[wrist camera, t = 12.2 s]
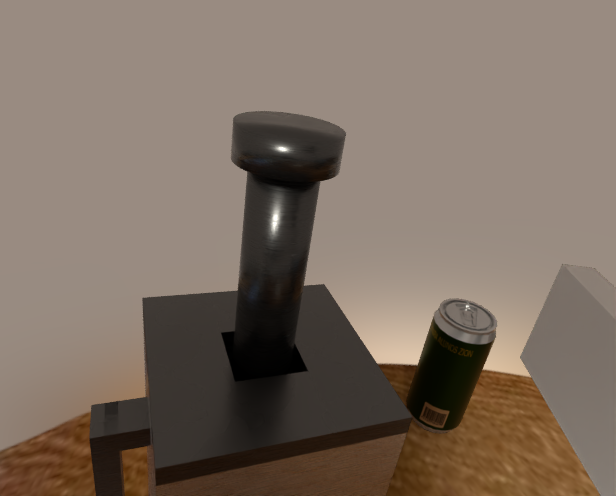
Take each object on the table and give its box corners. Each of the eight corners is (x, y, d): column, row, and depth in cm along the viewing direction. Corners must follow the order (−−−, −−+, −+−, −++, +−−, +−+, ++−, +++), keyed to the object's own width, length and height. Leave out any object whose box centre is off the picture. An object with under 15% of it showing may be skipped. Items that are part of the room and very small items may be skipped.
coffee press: (290, 468, 38) (324, 284, 30) (343, 620, 29) (412, 417, 21) (110, 508, 33) (91, 301, 25) (107, 705, 24) (76, 484, 16)
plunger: (280, 476, 36) (342, 108, 23) (316, 588, 29) (432, 161, 16) (172, 500, 33) (174, 95, 20) (185, 631, 26) (200, 154, 13)
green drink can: (461, 442, 43) (505, 341, 37) (404, 427, 44) (438, 325, 38) (457, 400, 48) (494, 305, 42) (405, 387, 48) (435, 291, 43)
